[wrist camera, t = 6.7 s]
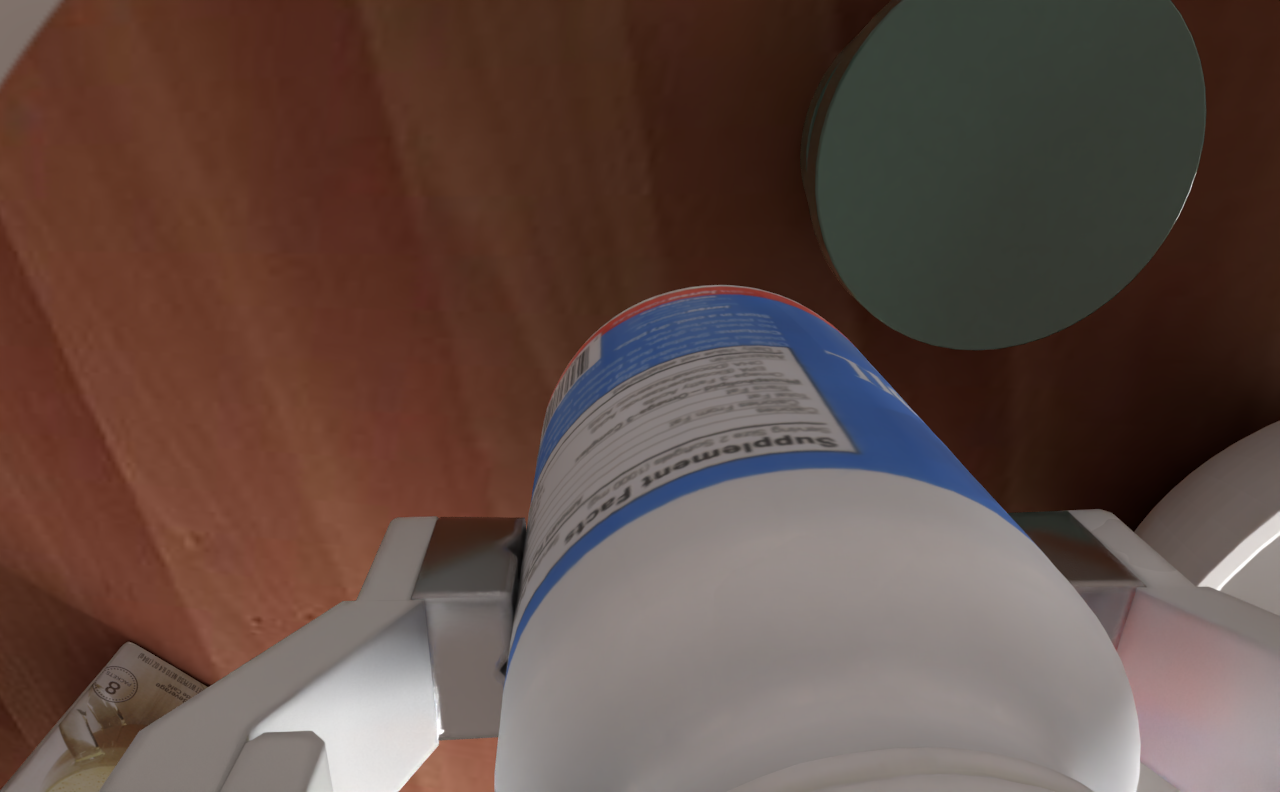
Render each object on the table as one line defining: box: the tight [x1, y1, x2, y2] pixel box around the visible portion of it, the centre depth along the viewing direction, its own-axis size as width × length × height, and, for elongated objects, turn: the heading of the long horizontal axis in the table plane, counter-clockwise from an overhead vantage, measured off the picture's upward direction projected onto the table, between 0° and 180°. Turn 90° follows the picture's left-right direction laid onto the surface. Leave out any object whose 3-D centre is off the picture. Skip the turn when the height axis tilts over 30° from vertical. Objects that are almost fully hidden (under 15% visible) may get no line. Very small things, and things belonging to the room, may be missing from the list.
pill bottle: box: [495, 285, 1141, 792], centre depth 9 cm, size 6×5×10 cm
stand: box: [800, 0, 1206, 351], centre depth 27 cm, size 12×12×6 cm
